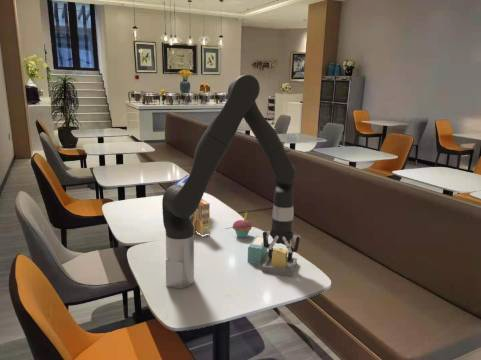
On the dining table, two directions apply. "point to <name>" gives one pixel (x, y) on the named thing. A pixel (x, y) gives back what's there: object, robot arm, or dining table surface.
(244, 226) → the cupcake
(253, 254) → the teal box with tabs
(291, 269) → the tray
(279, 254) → the tan box block
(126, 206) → the dining table surface
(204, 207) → the candy box
